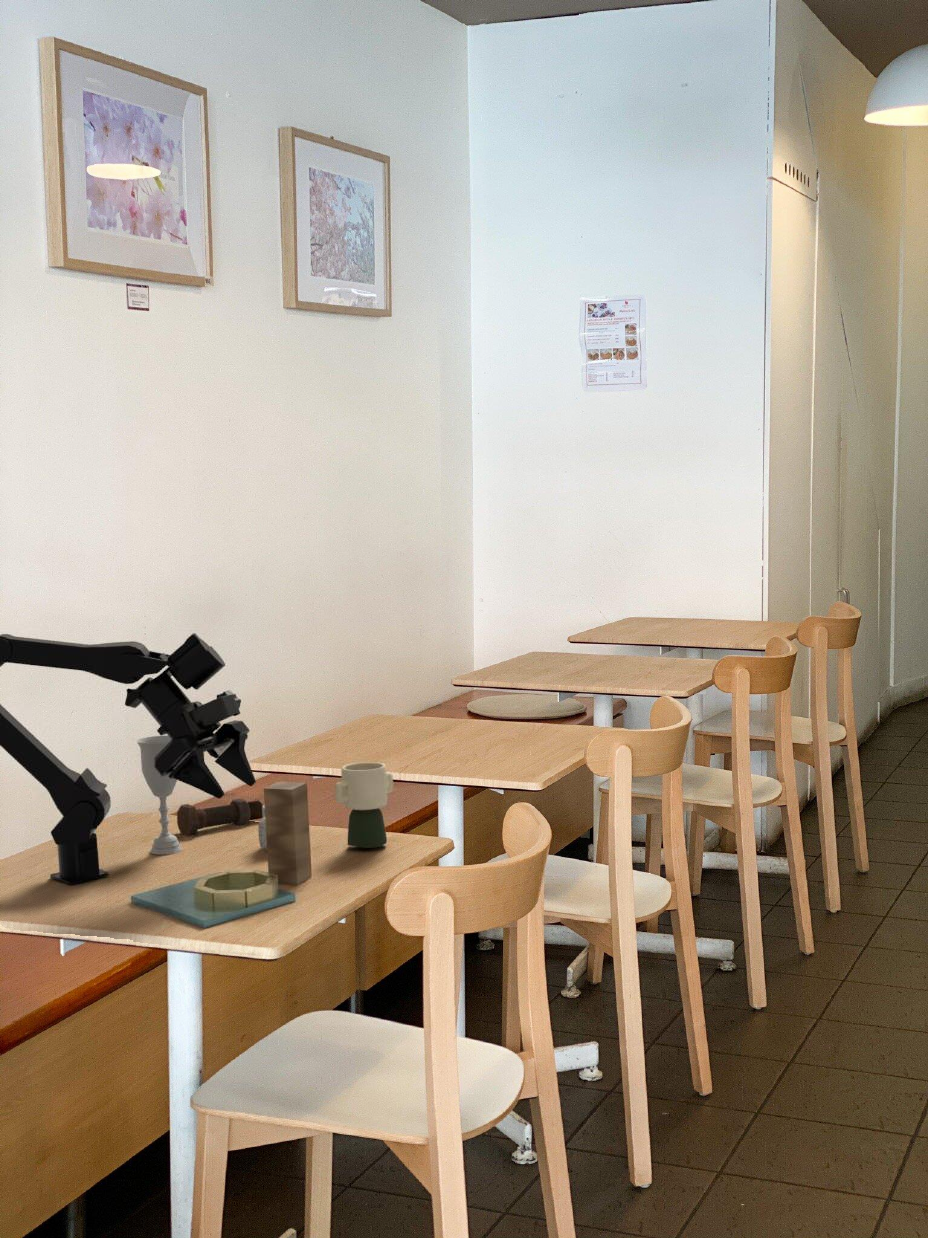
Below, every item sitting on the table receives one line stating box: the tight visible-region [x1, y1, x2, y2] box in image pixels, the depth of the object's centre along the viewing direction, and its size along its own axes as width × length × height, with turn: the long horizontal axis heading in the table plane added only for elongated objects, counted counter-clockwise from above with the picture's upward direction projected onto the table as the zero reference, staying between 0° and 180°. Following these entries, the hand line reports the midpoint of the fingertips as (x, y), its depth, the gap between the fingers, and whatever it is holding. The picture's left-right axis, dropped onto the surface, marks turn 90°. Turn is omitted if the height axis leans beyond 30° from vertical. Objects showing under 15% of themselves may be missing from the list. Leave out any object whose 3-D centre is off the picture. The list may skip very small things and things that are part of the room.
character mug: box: [334, 761, 394, 850], centre depth 219 cm, size 11×7×13 cm, turn 130°
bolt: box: [176, 798, 265, 837], centre depth 236 cm, size 6×5×15 cm
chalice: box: [136, 735, 183, 856], centre depth 222 cm, size 7×7×18 cm
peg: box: [263, 781, 313, 886], centre depth 202 cm, size 5×5×14 cm
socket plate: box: [130, 869, 297, 929], centre depth 193 cm, size 18×15×3 cm
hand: (238, 790), depth 204 cm, fingers open, 9 cm apart
